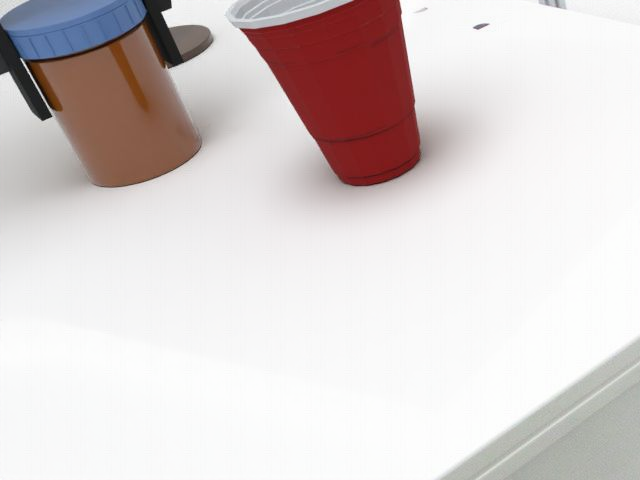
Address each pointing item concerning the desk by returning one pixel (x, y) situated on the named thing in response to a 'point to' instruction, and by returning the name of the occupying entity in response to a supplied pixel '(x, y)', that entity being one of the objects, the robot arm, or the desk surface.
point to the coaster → (190, 40)
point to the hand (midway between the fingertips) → (109, 87)
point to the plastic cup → (342, 78)
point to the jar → (118, 108)
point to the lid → (68, 25)
